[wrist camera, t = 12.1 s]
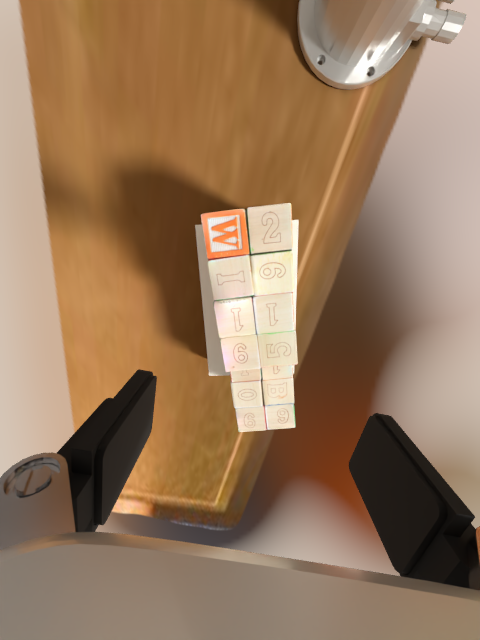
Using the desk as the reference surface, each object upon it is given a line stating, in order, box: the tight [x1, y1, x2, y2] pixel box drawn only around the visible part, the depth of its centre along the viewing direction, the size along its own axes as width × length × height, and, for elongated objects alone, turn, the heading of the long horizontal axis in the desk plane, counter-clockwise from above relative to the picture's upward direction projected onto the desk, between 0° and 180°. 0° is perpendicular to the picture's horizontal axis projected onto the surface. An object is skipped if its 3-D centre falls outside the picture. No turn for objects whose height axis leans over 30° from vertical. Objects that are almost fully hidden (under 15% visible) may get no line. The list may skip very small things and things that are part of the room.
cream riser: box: [195, 220, 298, 376], centre depth 33 cm, size 12×20×5 cm, turn 2°
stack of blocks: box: [201, 203, 298, 432], centre depth 25 cm, size 21×6×12 cm, turn 6°
